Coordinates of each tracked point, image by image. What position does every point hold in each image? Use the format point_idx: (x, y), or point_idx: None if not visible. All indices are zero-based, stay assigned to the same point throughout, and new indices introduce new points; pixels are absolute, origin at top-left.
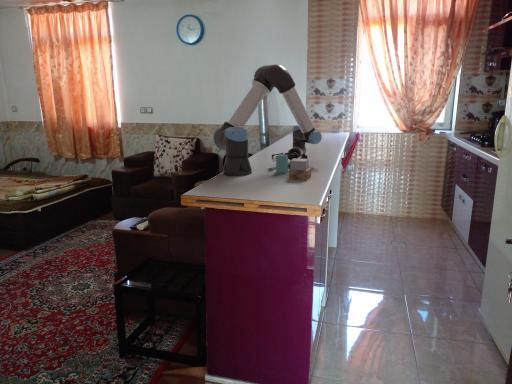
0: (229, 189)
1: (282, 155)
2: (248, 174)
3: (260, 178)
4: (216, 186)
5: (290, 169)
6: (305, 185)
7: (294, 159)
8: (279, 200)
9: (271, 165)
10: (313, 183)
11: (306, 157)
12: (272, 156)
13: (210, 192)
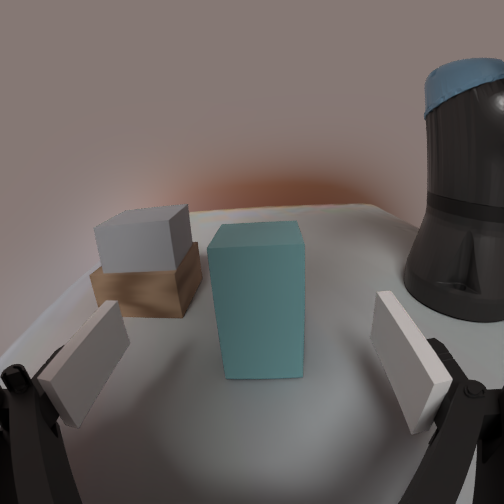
0: (329, 217)
1: (252, 230)
2: (404, 280)
3: (320, 266)
4: (371, 220)
5: (191, 241)
6: None
7: (166, 213)
8: (211, 212)
9: None
10: None
11: (1, 391)
12: (498, 395)
13: (347, 209)
